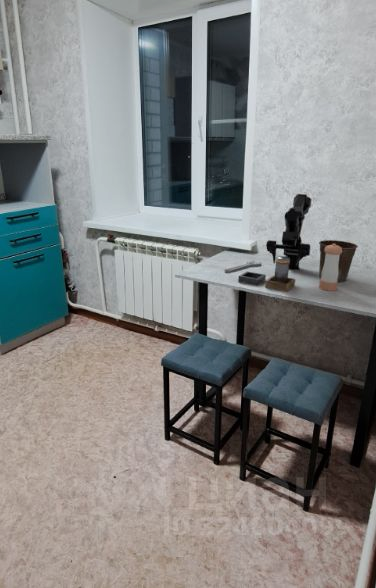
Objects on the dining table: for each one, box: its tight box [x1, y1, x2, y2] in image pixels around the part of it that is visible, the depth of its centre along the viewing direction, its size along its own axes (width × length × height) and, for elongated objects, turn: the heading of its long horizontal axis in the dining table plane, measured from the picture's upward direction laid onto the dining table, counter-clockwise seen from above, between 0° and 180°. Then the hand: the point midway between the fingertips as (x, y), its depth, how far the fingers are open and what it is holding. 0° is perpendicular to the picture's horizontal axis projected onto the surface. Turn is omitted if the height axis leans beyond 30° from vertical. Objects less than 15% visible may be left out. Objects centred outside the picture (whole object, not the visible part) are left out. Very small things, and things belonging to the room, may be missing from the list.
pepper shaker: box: [318, 244, 342, 292], centre depth 166 cm, size 7×7×19 cm
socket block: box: [238, 271, 267, 286], centre depth 176 cm, size 9×9×2 cm
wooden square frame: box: [264, 274, 296, 292], centre depth 169 cm, size 10×10×3 cm
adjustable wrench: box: [224, 260, 262, 274], centre depth 197 cm, size 25×6×2 cm, turn 128°
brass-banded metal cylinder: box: [274, 255, 290, 284], centre depth 168 cm, size 6×6×12 cm
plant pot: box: [318, 239, 359, 283], centre depth 180 cm, size 16×16×16 cm
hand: (284, 264), depth 173 cm, fingers open, 9 cm apart
